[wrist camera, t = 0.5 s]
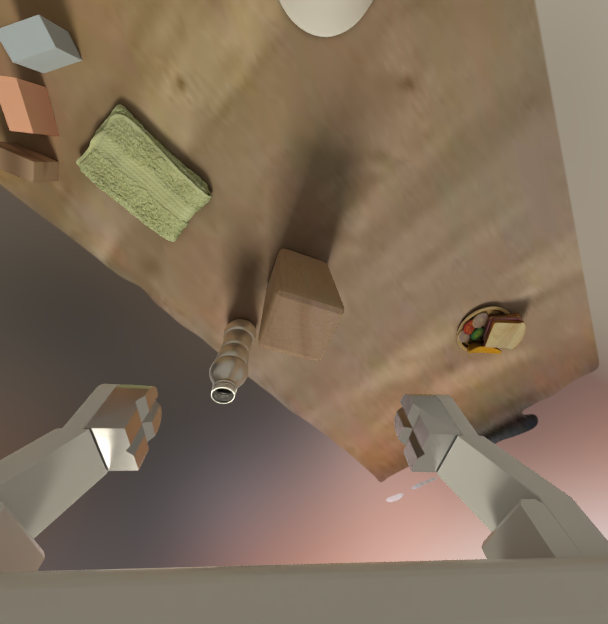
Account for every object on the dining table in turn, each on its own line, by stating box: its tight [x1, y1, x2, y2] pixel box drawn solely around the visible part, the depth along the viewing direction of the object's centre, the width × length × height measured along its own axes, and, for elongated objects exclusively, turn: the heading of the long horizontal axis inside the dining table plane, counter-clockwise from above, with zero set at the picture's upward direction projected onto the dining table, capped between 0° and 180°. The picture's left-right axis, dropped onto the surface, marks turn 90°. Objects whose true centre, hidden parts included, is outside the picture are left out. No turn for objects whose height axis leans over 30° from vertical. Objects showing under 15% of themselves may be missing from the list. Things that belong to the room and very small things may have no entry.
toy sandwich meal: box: [457, 306, 526, 354], centre depth 62 cm, size 12×14×5 cm
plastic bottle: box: [210, 319, 256, 404], centre depth 52 cm, size 6×7×20 cm
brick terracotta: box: [0, 76, 59, 136], centre depth 38 cm, size 6×3×5 cm, turn 174°
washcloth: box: [76, 104, 212, 242], centre depth 45 cm, size 13×18×3 cm
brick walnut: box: [0, 142, 59, 183], centre depth 41 cm, size 6×3×5 cm, turn 64°
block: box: [258, 249, 344, 361], centre depth 47 cm, size 10×10×20 cm
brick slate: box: [0, 15, 82, 73], centre depth 36 cm, size 6×3×5 cm, turn 104°
